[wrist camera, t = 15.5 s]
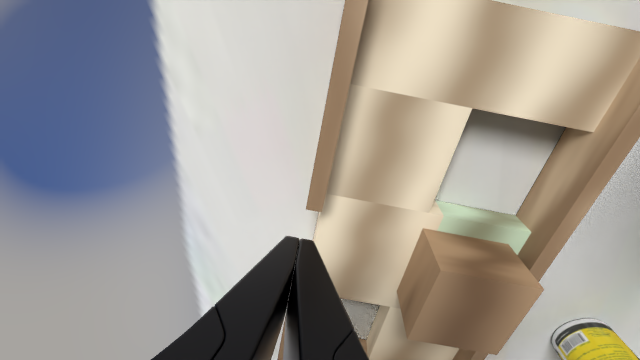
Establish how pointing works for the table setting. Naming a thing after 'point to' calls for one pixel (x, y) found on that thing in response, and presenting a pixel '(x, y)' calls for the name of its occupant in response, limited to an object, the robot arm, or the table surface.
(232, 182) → the table surface
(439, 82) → the box
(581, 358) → the supplement bottle
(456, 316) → the block
